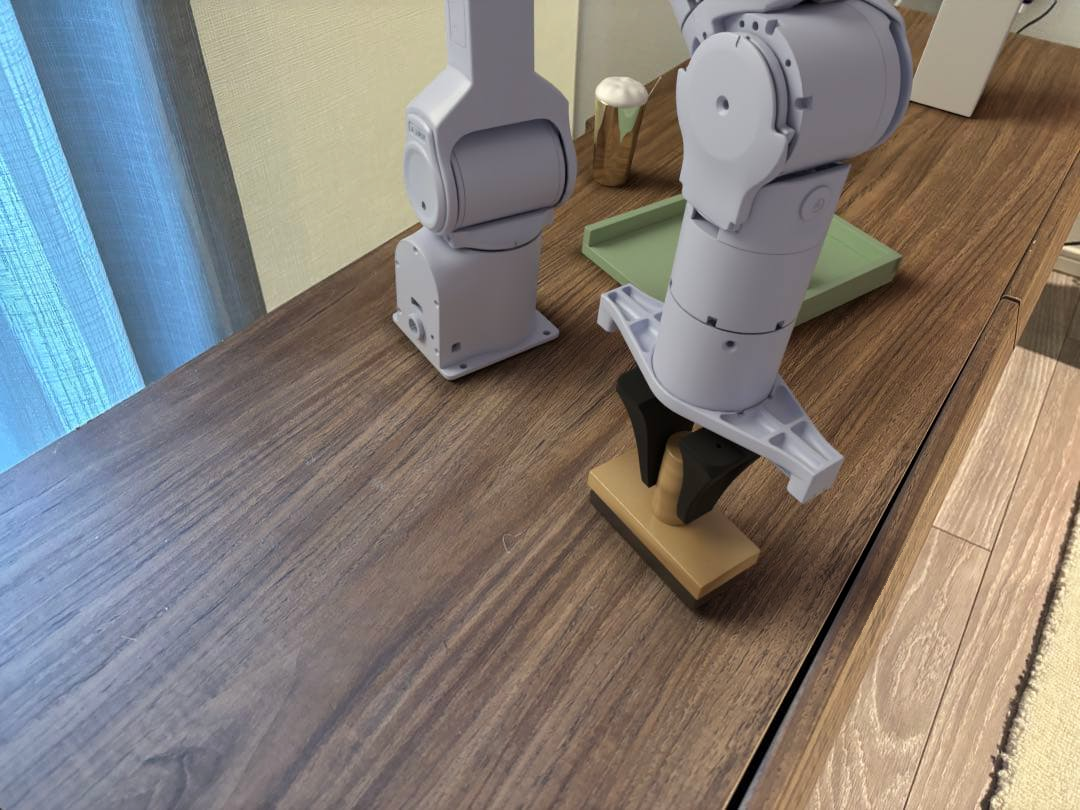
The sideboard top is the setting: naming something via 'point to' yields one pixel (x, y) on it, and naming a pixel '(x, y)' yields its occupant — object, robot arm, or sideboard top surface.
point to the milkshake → (617, 128)
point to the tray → (652, 237)
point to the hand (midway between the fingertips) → (676, 495)
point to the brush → (671, 527)
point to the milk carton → (962, 53)
